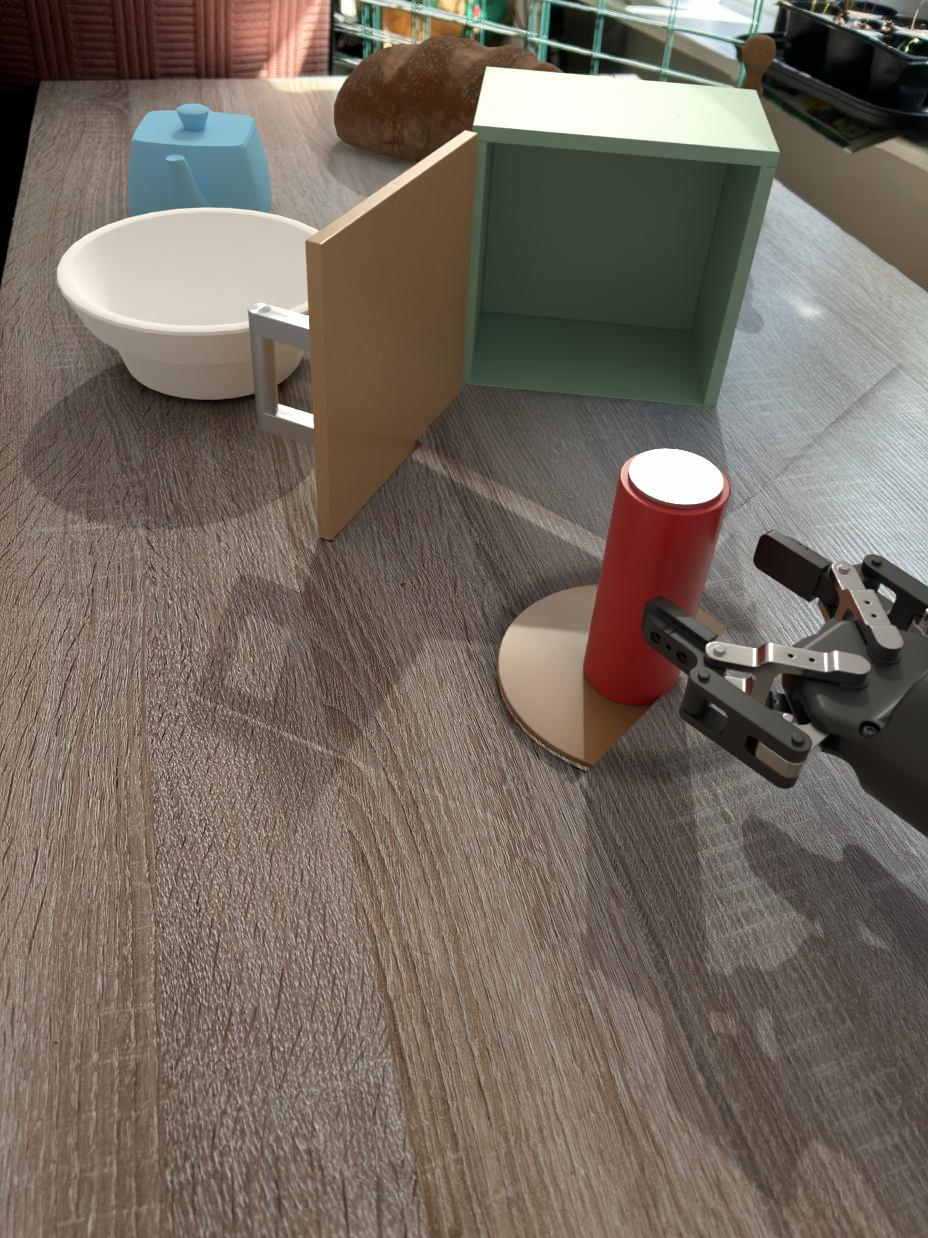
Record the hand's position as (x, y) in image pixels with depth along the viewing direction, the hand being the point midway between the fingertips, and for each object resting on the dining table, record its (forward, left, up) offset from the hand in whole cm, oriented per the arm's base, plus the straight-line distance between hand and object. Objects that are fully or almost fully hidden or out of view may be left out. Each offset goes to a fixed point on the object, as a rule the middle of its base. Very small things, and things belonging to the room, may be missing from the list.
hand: (706, 577), depth 52 cm
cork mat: (-1, -3, -10) cm, 10 cm away
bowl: (-8, -47, -10) cm, 48 cm away
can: (-1, -3, -9) cm, 10 cm away
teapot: (-22, -65, -10) cm, 69 cm away
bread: (-59, -64, -10) cm, 87 cm away
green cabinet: (-29, -26, -10) cm, 40 cm away
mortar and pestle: (-62, -32, -10) cm, 70 cm away
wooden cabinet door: (-7, -30, -10) cm, 32 cm away
